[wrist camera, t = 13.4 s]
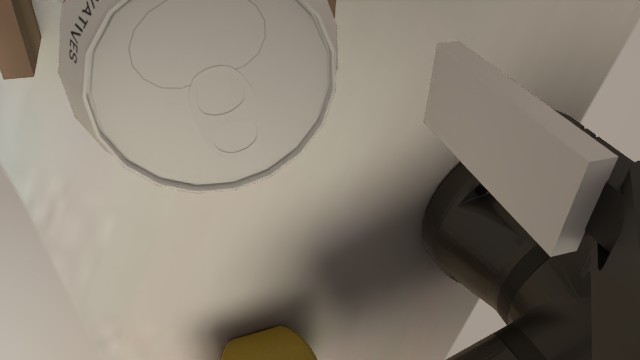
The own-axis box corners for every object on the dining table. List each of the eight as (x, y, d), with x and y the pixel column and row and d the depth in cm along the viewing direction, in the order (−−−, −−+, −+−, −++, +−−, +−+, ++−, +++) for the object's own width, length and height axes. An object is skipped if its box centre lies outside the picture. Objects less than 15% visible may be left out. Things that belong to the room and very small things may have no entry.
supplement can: (35, -115, 23) (-19, 2, 12) (217, -169, 24) (328, -109, 13) (119, 53, 28) (137, 243, 17) (265, 3, 29) (373, 152, 18)
